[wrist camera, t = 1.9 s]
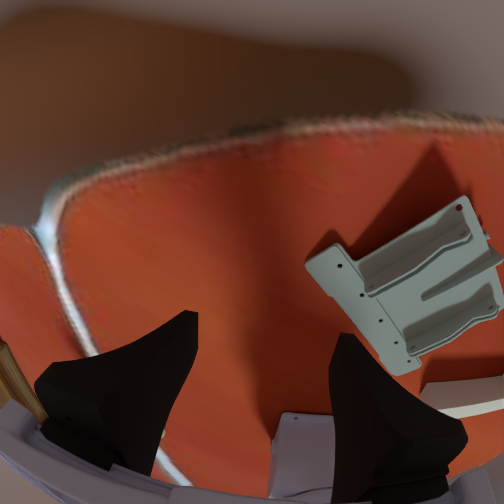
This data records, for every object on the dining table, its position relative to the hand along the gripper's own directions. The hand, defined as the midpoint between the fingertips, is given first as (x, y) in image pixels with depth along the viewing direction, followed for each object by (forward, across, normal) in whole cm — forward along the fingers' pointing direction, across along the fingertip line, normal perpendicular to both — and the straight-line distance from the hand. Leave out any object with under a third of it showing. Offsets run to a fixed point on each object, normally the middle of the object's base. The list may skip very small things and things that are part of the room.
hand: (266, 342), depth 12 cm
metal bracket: (+10, -12, 0) cm, 15 cm away
